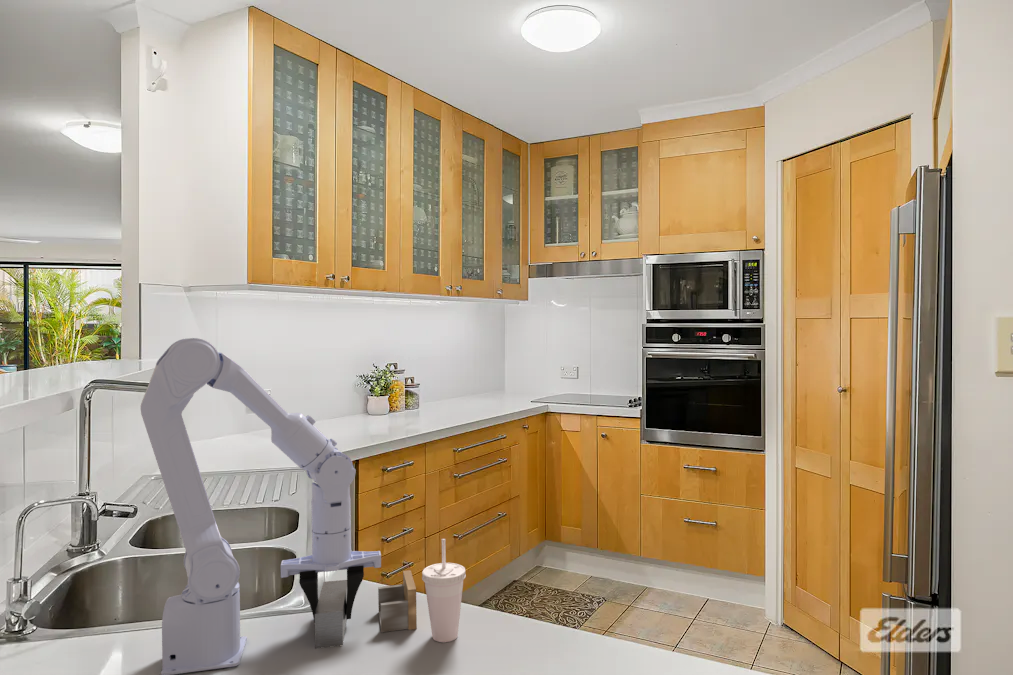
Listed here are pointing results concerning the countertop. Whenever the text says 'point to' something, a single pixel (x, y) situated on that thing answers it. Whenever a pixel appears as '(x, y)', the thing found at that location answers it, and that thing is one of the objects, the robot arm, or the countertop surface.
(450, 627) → the smoothie
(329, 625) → the grey rectangular block
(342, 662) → the countertop surface
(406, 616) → the bracket
